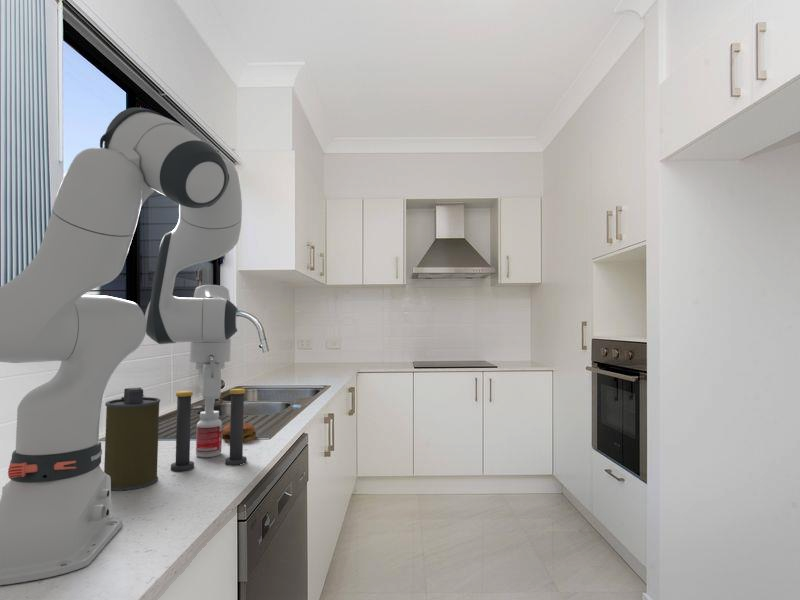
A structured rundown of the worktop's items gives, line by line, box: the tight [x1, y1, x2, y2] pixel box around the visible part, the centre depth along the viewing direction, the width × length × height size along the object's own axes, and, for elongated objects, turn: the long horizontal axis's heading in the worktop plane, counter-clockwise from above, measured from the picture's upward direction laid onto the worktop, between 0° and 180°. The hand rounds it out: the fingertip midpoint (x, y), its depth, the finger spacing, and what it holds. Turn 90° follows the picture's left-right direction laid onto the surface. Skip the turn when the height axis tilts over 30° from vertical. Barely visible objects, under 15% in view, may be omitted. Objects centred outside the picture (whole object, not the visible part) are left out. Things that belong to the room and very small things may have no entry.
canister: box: [103, 387, 161, 492], centre depth 105 cm, size 11×10×20 cm
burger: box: [222, 422, 257, 443], centre depth 143 cm, size 10×9×5 cm
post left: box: [170, 390, 195, 472], centre depth 115 cm, size 5×5×18 cm
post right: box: [224, 388, 248, 466], centre depth 120 cm, size 5×5×18 cm
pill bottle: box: [195, 410, 223, 458], centre depth 127 cm, size 6×6×11 cm
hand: (209, 413), depth 114 cm, fingers closed
